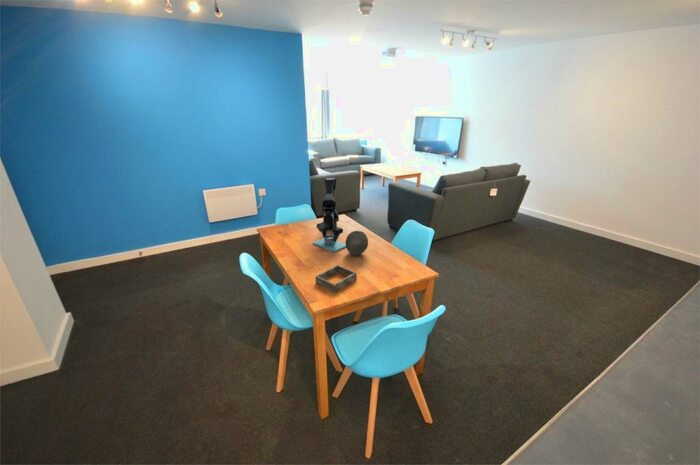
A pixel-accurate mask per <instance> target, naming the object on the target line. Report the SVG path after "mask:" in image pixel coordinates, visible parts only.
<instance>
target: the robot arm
mask: <svg viewBox="0 0 700 465" xmlns="http://www.w3.org/2000/svg"><path fill="white" fill-rule="evenodd" d="M323 181H324V183H323V185H324V186H325V189H326V190H325V195H324V197H323V200H322V204H321V205H322V206H321V207H322V210H321V211H322V212H324V214H323V217H322V218H323V219H322V222H318V223H317V224H316V229H317V230H318V231H319V232H321V234H322V236H323V237H322V238H324V236H325V235H328V234H327V232H328V231H332V233H331V234H332V235H334V243H335V242H336V241H338V239H339V237H340V235H341V234H343V233H344V229H343V228H341V227H339V226H338V222H339V221H340V217H339V213H338V212H337V202H336V200H335V190H336V189H337V185H338V180H337V179H336V178H335V177H326V178H325V179H324V180H323Z"/></svg>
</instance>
